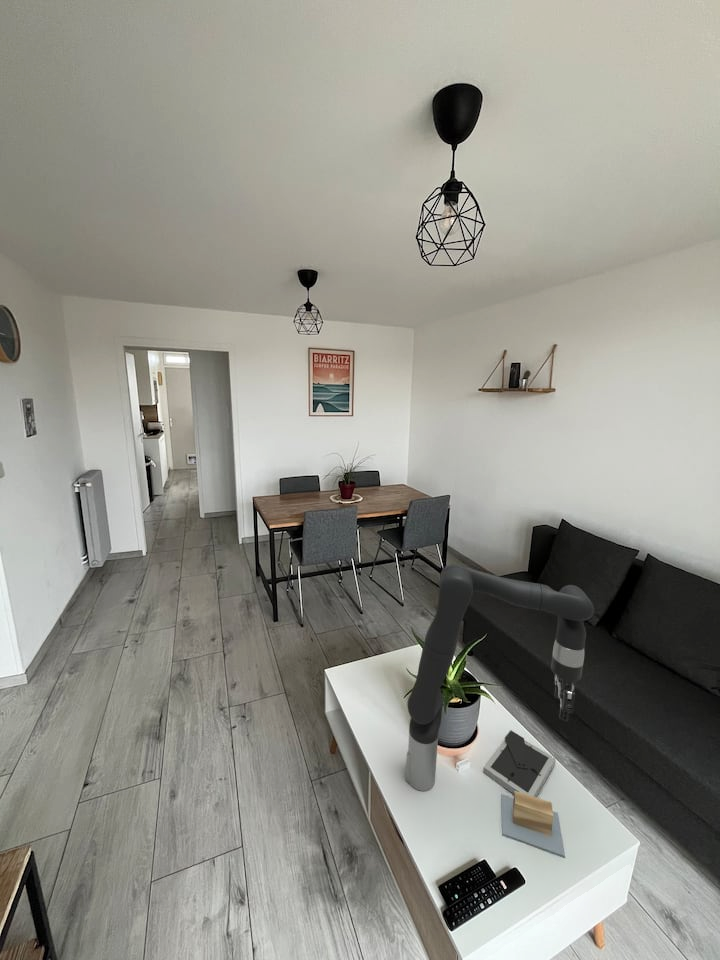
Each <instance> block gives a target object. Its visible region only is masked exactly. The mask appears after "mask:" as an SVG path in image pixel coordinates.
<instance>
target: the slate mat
mask: <svg viewBox="0 0 720 960" xmlns="http://www.w3.org/2000/svg"><path fill="white" fill-rule="evenodd" d="M500 797H501V798H500V799H501V801H500V802H501V803H500V804H501V806H500V807H501V832H502V833H501V836H503V837H505V838H508V839H511V840H514V841H517V842H520V843H522V844H525V845H528V846H531V847H534V848H537V849H540V850H542V851H545V852H548V853H550V854H553V855H556V856H559V857H562V858H566V854H565V853H566V852H565V846H564V842H563V841H564V840H563V835H562V829H561V823H560V816H559V812H557V811H554V810H553V815H554V817H553V825H552V832H551V837H550V836H548V835H545V834H542V833H539V832H536V831H533V830H530V829H527V828H525V827H522V826H519V825H516V824H513V814H512V808H513V800H514V797H511V796H509V795H505V794H501V796H500Z"/></svg>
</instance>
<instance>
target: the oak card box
mask: <svg viewBox="0 0 720 960" xmlns="http://www.w3.org/2000/svg"><path fill="white" fill-rule="evenodd" d="M513 798H514V800H513V808H512V814H513V824H516V825H519V826H522V827H525V828H527V829H530V830H533V831H536V832H539V833H542V834H545V835H548V836H550V837H551V832H552V825H553V817H554V815H553V811H554V810H553V803H552V801H548V800H545V799H542V798H539V797H537V796H536V797H533V796H530V795H527V794H523V793H520V792H517V791H514V794H513Z"/></svg>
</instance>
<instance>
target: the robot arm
mask: <svg viewBox="0 0 720 960" xmlns="http://www.w3.org/2000/svg"><path fill="white" fill-rule="evenodd" d="M438 591H439V594H438V599H437V601H438V602H437V607H436V612H435V616H434V618H433V620H432V621H431V623H430V625H429V626H428V629H427V631H426V634H425V638H424V641H423V646H422V650H421V654H420V660H419V663H418V668H417V675H416V679H415V682H414V685H413V686H412V690H411V691H410V692H411V693H410V694H409V697H408V699H407V710H408V713H409V716H410V720H409V725H408V726H409V727H408V744H407V745H408V748H407V752H406V760H405V761H406V763H405V777H404V778H405V780H404V781H405V782H407V783H408V784H409V785H411V787H413V789H415V790H417V791H422V792H426V791H429V790H431V789H433V787H434V785H435V783H436V773H437V772H436V770H437V758H438V755H437V754H438V743H439V741H438V739H439V731H440V727H441V723H442V715H443V705H444V704H443V702H444V700H443V694H442V692H441V691H442V690H440V689H441V687H442V684H443V682H444V680H445V679H446V676H447V674H448V672H449V670H450V668H451V665H452V663H453V660H454V656H455V653H456V650H457V646H458V641H459V636H460V630H461V625H462V621H463V619H464V615H466V612H467V609H468V606H469V604H470V602H471V599H472V597H473V595H474V593H481V594H486V595H489V596H491V597H495V598H497V599H499V600H502V601H503V602H506V603H508V604H510V605H513V606H516V607H520V608H524V609H530V610H536V611H544V612H546V613H549V614H552V615H554V616H557V625H556V632H555V633H556V634H555V640H554V643H553V647H552V648H553V649H552V655H551V656H552V657H551V663H550V665H551V666H550V668H551V669H550V670H551V671H552V673H553V674H554V677H553V678H554V685H555V687H554V699H556V700H559V701H560V704H559V707H560V708H559V716H558V717H559V720H560V721H563V722H566V723H567V722H568V723H569V721H570V715H571V714H573V713H574V710H575V709H574V707H575V699H576V692H575V691H574V690H575V684H574V682H576V681H579V680H581V679H582V676H583V675H582V674H583V668H584V661H585V645H586V638H587V630H586V626H585V625H584V624H585V623H584V621H588V620H589V619H591V618H592V617H593V615H594V613H595V607H594V605H593V604H594V603H593V602H592V601H591V599H590V598H589V597H588V595H587V594H586V593H585V592H584V590H582V589H581V587H578V586H577V585H573V584H568V585H565V586H563V587H562V588H561V589H560V590H559V591H557V590H555V589H552V587H550V586H549V585H547V584H542V583H535V582H529V581H523V580H517V579H512V578H506V577H502V576H499V575H494V574H491V573H487V572H484V571H481V570H477V569H474V568H471V567H468V566H464V565H462V564H461V565H460V564H449V565H446V566H445V567H444V568H442V570H441V572H440V576H439V590H438Z"/></svg>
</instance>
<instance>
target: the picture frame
mask: <svg viewBox="0 0 720 960" xmlns="http://www.w3.org/2000/svg"><path fill="white" fill-rule="evenodd" d="M552 757H553V758H552ZM555 764H556V757H555V756H552V755H551V754H549V753H548V752H545V751H544V750H542V749H540V748H539V747H537V746H535V745H534V744H532V743H530V742H529V741H527V740H525V737H523V736H522V735H519V734H518V733H517V732H515V731H513V730H511V729H510V730H509V731H508V733H507V734H506V735H505V737H504V740H503V741H502V742H501V744H500V745H499V746H498V748H497V749H496V750H495V751H494V753H493V754H492V755H491V756H490V758H489V759H488V760H487V762H486V763H485V764H484V765H483V770H482V771H483V774H485V775H486V776H488V777H489V778H491V779H492V780H494V781H495V782H496V783H498V784H499V785H501V786H502V787H503V788H505V789H506V790H507V791H508V792H510V793H512V794H513V795H514V791H517V792H520V793H523V794H527V795H530V796H533V797H536V798H537V797H538V795H539V793H540V791H541V790H542V787H543V786H544V784H545V783H546V780H547V778H548V777H549V775H550V773H552V770H553V768H554V767H555Z"/></svg>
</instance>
